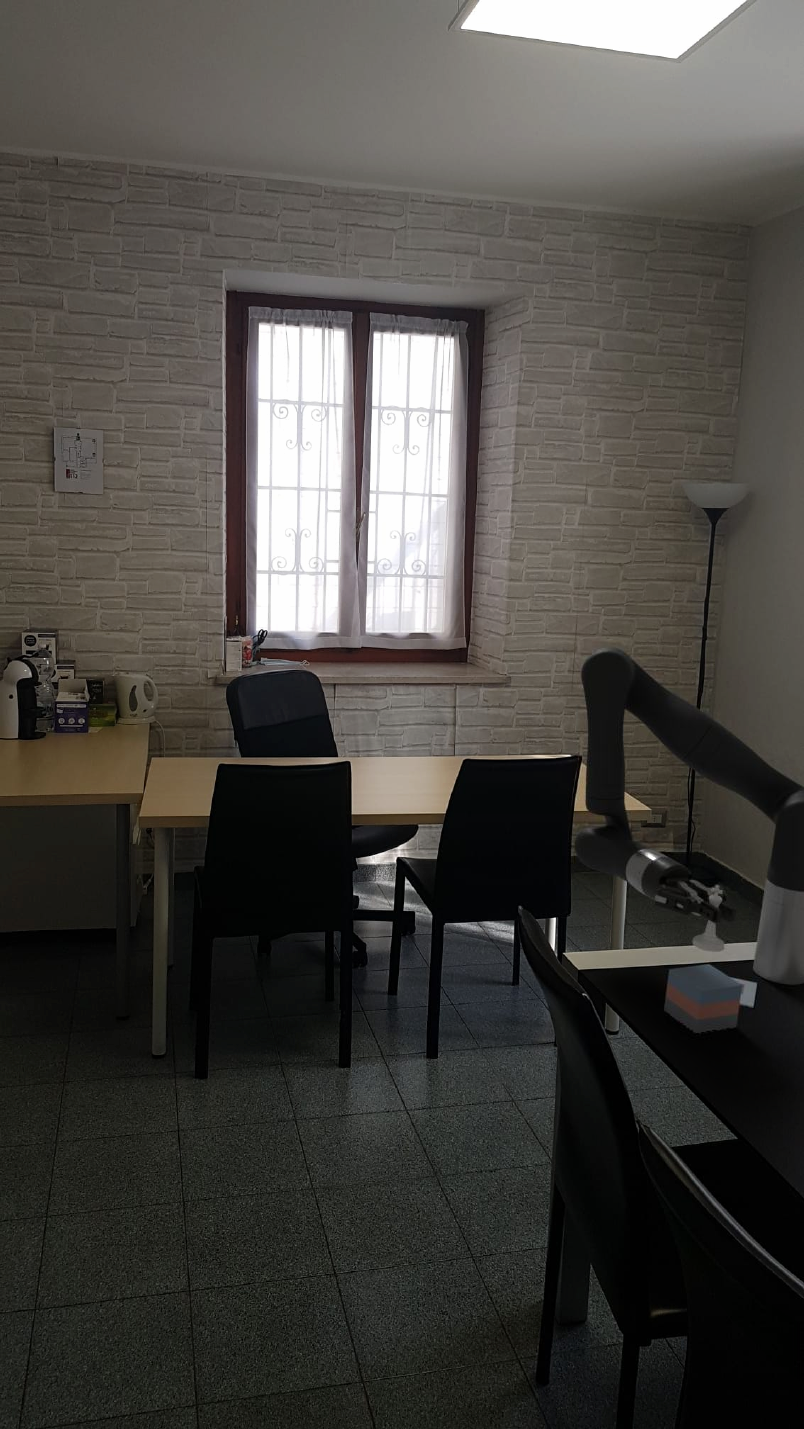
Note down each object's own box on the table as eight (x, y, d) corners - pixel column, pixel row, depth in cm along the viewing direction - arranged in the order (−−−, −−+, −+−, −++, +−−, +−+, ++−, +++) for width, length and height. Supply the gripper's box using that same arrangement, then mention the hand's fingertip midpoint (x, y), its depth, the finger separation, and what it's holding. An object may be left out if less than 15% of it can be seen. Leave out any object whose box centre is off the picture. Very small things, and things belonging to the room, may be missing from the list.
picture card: (715, 975, 188) (715, 973, 188) (756, 984, 186) (757, 982, 186) (709, 998, 179) (710, 995, 179) (753, 1008, 177) (753, 1005, 177)
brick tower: (663, 1010, 173) (669, 969, 172) (703, 1004, 177) (709, 964, 175) (695, 1033, 166) (701, 991, 165) (736, 1027, 170) (742, 985, 168)
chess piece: (717, 954, 166) (727, 894, 164) (687, 944, 169) (696, 884, 167) (728, 945, 170) (738, 886, 168) (699, 936, 173) (708, 877, 171)
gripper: (627, 858, 177) (693, 897, 162) (694, 853, 183) (765, 891, 167) (621, 901, 179) (687, 943, 163) (688, 895, 184) (757, 935, 169)
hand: (726, 916), depth 165 cm, fingers closed on chess piece
